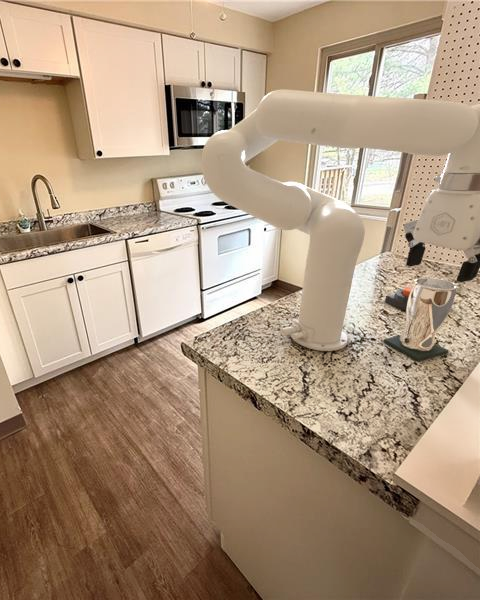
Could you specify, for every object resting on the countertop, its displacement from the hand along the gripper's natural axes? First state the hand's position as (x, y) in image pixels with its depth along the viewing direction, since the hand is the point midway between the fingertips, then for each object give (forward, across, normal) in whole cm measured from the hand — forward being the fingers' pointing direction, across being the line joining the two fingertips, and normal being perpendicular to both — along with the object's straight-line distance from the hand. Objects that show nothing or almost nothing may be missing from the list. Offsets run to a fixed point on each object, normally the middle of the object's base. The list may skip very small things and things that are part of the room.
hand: (436, 272), depth 62 cm
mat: (+18, 0, 0) cm, 18 cm away
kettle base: (+18, -15, +20) cm, 30 cm away
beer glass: (+18, 0, 0) cm, 18 cm away
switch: (+14, -15, +16) cm, 26 cm away
